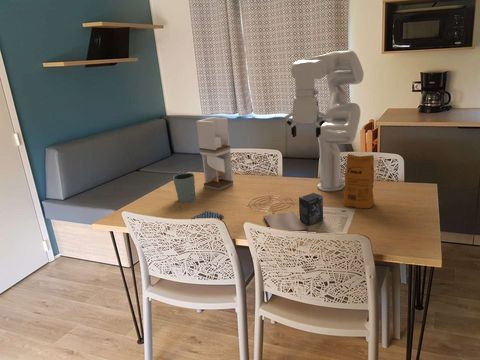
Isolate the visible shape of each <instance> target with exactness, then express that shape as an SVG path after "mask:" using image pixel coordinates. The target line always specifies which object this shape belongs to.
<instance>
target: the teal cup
mask: <svg viewBox="0 0 480 360" xmlns="http://www.w3.org/2000/svg"><path fill="white" fill-rule="evenodd" d="M172 181H173V183H174V184H173V185H174V187H175V191H176V197H177V200H178V202H180V203H190V202H193V201H195V200H196V199H197V196H196V186H195V182H196V181H195V174H194V173H191V172H182V173H178V174H175V175H173V176H172Z"/></svg>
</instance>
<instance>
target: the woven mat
mask: <svg viewBox="0 0 480 360" xmlns="http://www.w3.org/2000/svg"><path fill="white" fill-rule="evenodd" d="M195 218H218V219H221V220H222V219H224V218H225V216H224V214H221V213H218V212H213V211H210V210H207V211H206V210H205V211H204V212H202V213H199V214H197V215H194V217H191V220H192V219H195Z"/></svg>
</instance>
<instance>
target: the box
mask: <svg viewBox="0 0 480 360" xmlns="http://www.w3.org/2000/svg"><path fill="white" fill-rule="evenodd" d="M298 207H299V208H298V210H299V211H298V212H299V215H298V216H299V217H298V218H299V219H300V220H301V221H302V223H303V224H304V225H305V226H308V227H310V226H312V225H314V224H317V223H320V222H323V221H324V196H323V195H321V194H318V193H315V192H311V193H309V194H305V195H302V196H299V197H298Z"/></svg>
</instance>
